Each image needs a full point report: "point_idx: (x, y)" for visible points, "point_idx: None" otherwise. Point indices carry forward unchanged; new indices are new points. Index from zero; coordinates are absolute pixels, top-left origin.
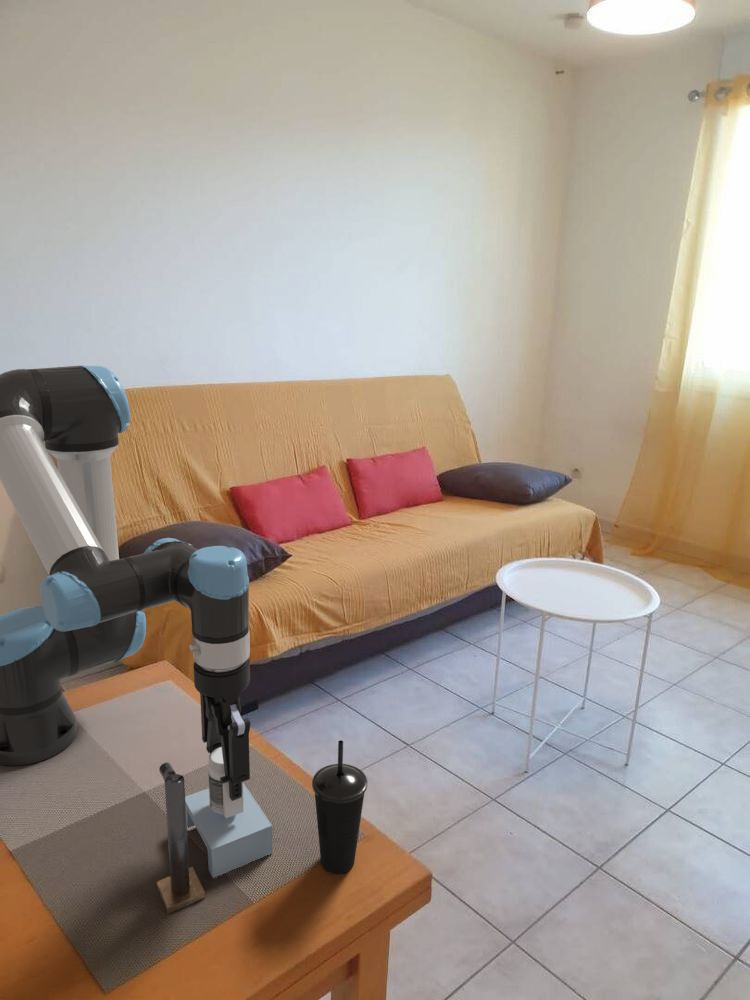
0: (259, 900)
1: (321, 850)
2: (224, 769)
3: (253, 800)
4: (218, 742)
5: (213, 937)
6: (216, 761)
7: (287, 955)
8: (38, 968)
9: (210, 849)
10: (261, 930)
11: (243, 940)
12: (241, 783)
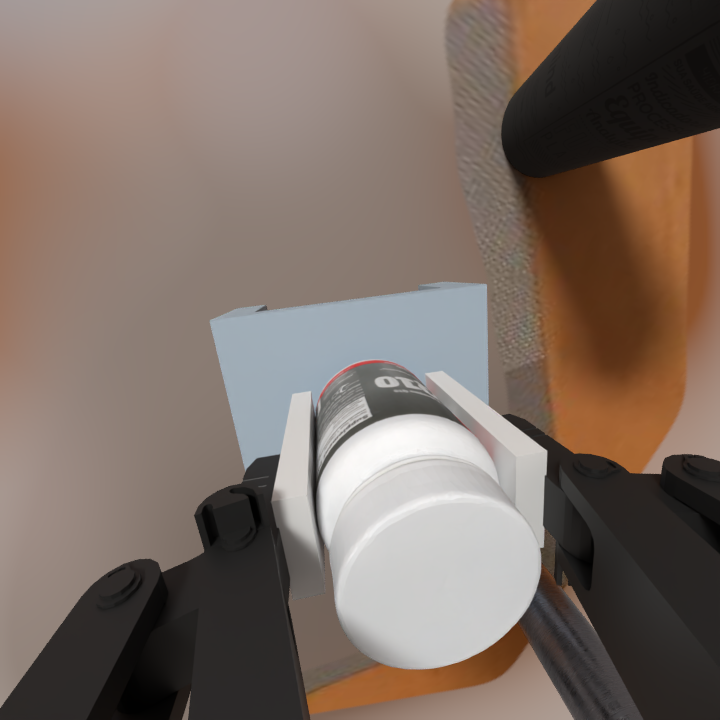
0: (544, 346)
1: (583, 165)
2: (583, 600)
3: (351, 307)
4: (292, 636)
5: (571, 440)
6: (486, 640)
7: (672, 332)
8: (487, 657)
9: None
10: (604, 361)
11: (604, 395)
12: (573, 453)
